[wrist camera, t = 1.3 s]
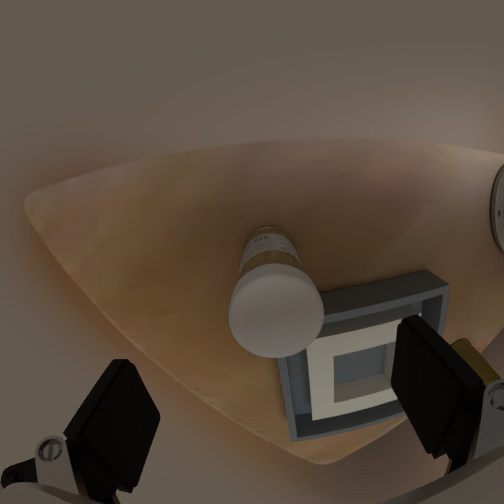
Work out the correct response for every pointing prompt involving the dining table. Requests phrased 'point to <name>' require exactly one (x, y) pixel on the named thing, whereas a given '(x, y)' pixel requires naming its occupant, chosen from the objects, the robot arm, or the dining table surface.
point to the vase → (475, 361)
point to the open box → (360, 362)
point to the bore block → (346, 341)
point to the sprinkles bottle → (274, 298)
